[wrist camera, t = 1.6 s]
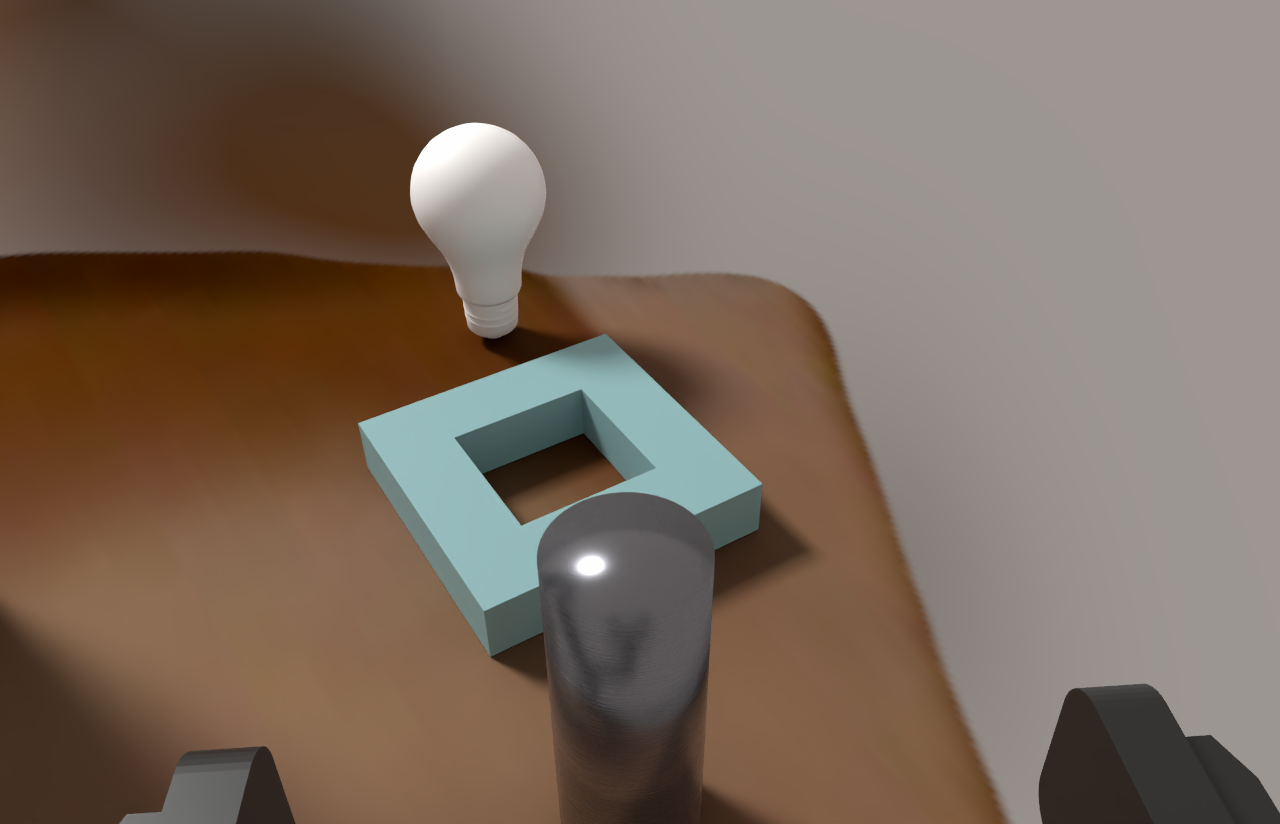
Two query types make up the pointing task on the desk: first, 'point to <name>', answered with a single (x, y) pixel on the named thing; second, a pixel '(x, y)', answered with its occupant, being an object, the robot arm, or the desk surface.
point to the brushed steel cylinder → (627, 657)
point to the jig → (519, 426)
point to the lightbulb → (480, 216)
